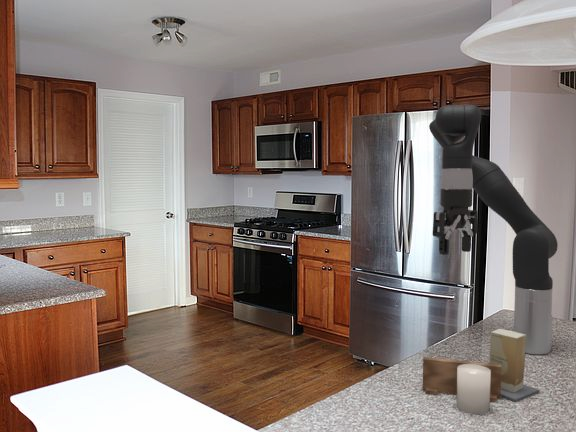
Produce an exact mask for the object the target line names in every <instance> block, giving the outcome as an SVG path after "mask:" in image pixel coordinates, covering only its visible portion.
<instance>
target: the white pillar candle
mask: <svg viewBox="0 0 576 432" xmlns="http://www.w3.org/2000/svg"><path fill="white" fill-rule="evenodd" d="M490 380H491V370H490V369H488V368H487V367H484V366H481V365H476V364H463V365H459V366H458V367H457V394H456V408H457V409H458V410H459V411H460V412H462V413H466V414H470V415H476V416H478V415H479V416H480V415H486V414H488V413H489V412H490V411H491V410H490V409H491V408H490V407H491V402H490Z"/></svg>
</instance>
